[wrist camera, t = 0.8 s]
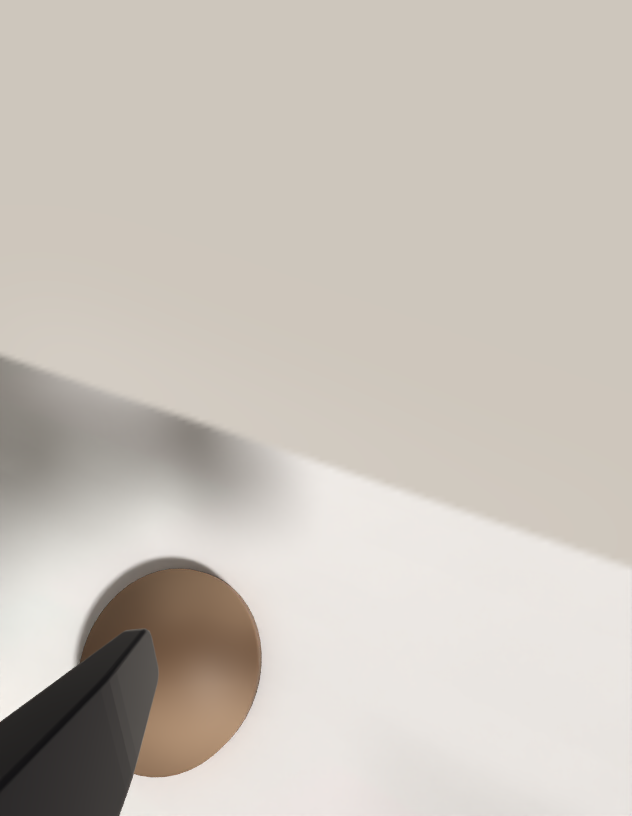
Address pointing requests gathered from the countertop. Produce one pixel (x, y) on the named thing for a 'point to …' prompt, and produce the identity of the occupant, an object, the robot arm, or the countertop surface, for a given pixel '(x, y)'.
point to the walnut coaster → (188, 663)
